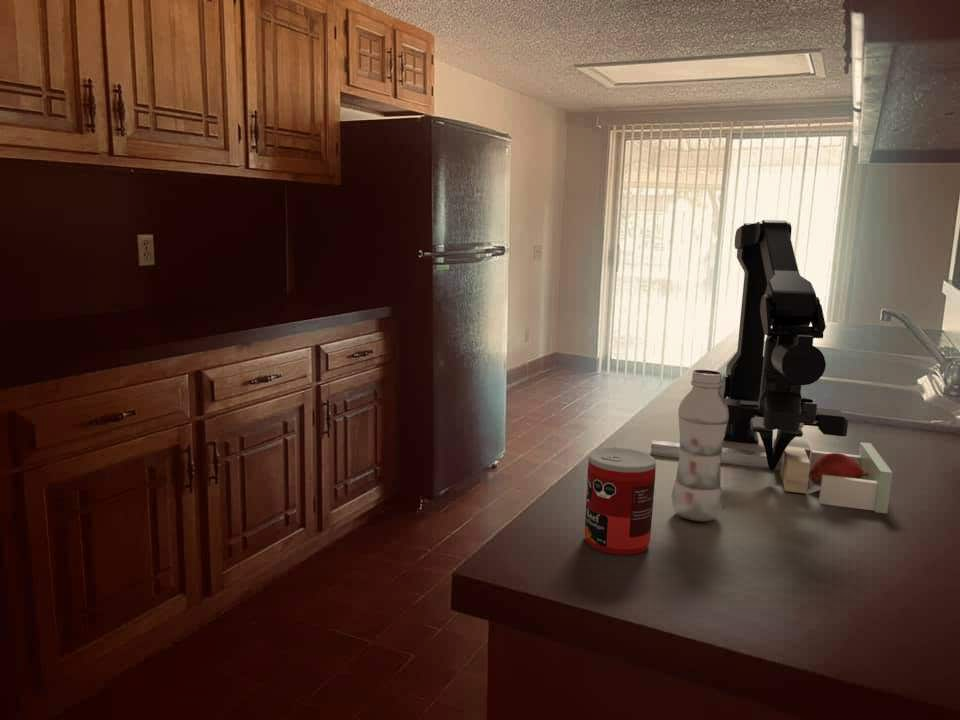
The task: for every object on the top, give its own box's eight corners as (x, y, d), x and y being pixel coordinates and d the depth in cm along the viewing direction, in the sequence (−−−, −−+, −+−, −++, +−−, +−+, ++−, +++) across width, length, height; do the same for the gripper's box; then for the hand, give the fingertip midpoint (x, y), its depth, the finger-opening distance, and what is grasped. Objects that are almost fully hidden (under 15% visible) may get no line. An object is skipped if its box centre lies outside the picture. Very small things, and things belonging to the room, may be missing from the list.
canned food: (580, 528, 93) (585, 446, 91) (643, 531, 93) (649, 448, 91) (587, 555, 86) (592, 465, 84) (655, 557, 86) (662, 468, 84)
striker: (771, 463, 121) (774, 436, 121) (803, 467, 120) (806, 439, 119) (777, 489, 109) (781, 459, 108) (814, 494, 107) (817, 464, 106)
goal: (807, 472, 118) (812, 437, 117) (866, 479, 115) (870, 443, 114) (820, 505, 104) (825, 465, 103) (887, 513, 101) (892, 472, 100)
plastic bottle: (695, 530, 94) (708, 378, 90) (659, 512, 100) (670, 369, 96) (731, 522, 97) (745, 375, 93) (694, 505, 103) (706, 366, 99)
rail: (651, 450, 127) (652, 439, 127) (846, 473, 118) (847, 461, 118) (650, 454, 125) (651, 443, 125) (848, 478, 116) (850, 466, 116)
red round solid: (808, 451, 108) (867, 448, 106) (805, 458, 114) (861, 455, 111) (813, 491, 107) (874, 488, 104) (810, 495, 112) (867, 493, 109)
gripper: (717, 375, 105) (707, 478, 108) (860, 388, 99) (846, 496, 102) (717, 362, 115) (708, 456, 118) (847, 373, 110) (834, 472, 113)
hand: (771, 470), depth 112 cm, fingers closed
